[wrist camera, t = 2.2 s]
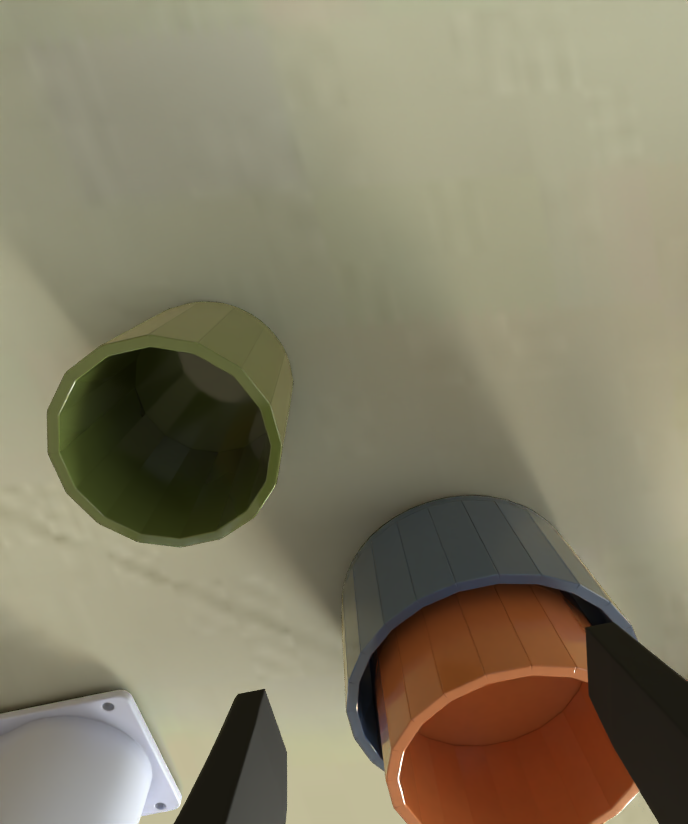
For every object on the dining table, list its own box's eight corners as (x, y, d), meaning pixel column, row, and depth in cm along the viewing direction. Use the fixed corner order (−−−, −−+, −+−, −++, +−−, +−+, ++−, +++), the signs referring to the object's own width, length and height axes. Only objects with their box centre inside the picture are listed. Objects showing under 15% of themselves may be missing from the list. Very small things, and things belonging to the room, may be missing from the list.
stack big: (367, 704, 24) (377, 819, 20) (317, 524, 21) (316, 611, 16) (580, 662, 24) (644, 768, 19) (568, 471, 20) (642, 544, 16)
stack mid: (384, 683, 24) (411, 874, 17) (348, 540, 21) (362, 698, 14) (556, 649, 24) (656, 829, 17) (543, 500, 21) (656, 640, 14)
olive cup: (163, 467, 20) (99, 565, 14) (107, 321, 18) (5, 366, 12) (309, 435, 19) (303, 521, 14) (269, 284, 17) (244, 312, 12)
